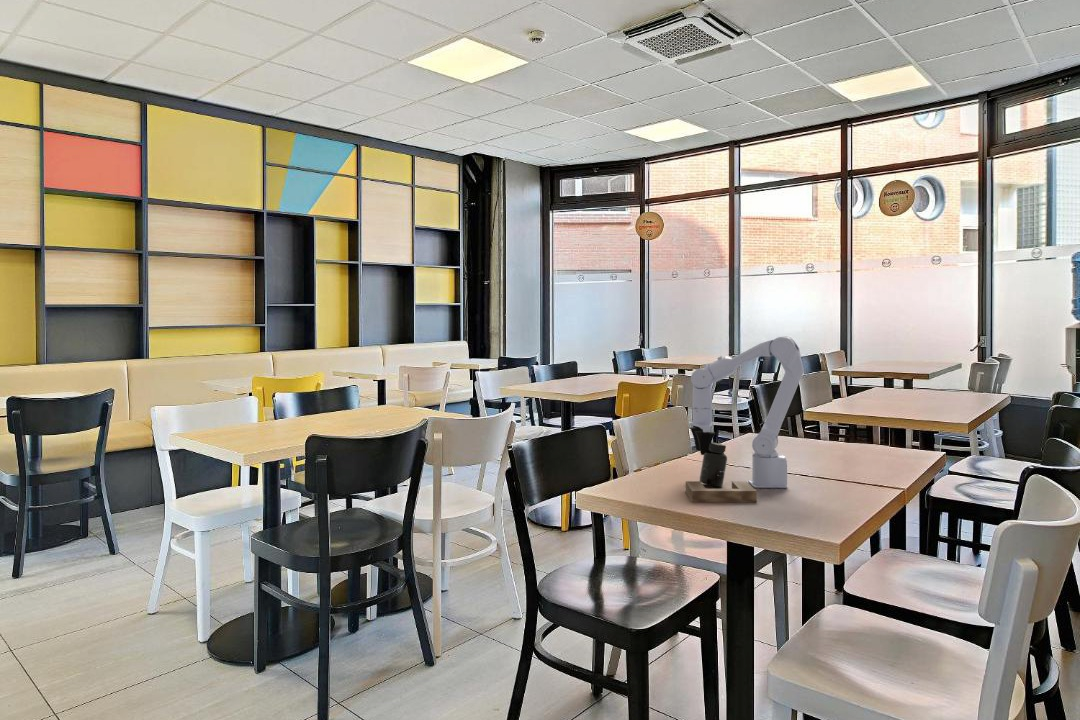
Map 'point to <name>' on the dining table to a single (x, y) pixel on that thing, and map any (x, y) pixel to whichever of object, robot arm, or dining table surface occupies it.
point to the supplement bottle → (714, 465)
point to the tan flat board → (721, 493)
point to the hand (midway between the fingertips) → (702, 452)
